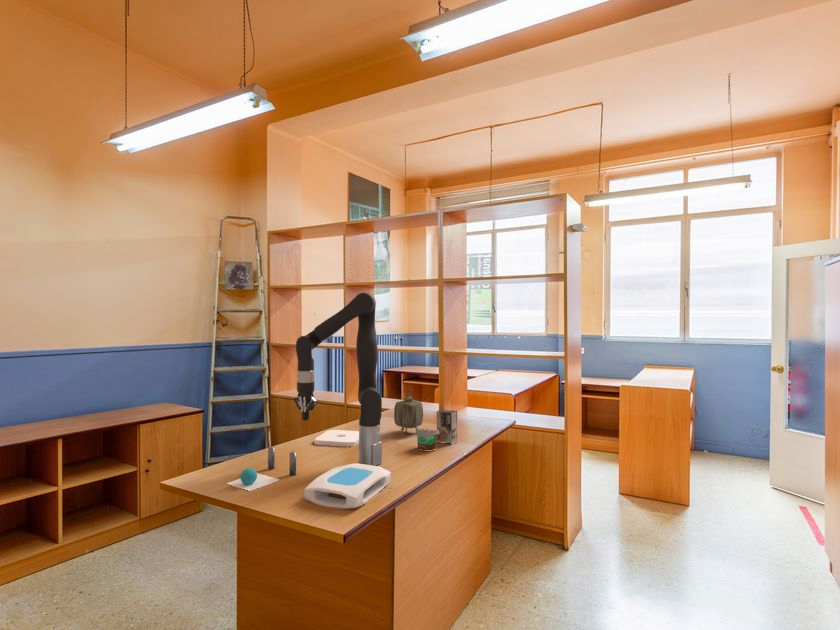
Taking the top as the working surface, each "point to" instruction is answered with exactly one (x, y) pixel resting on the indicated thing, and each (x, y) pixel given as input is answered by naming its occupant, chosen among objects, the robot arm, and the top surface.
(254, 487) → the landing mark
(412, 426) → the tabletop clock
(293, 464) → the post
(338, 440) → the computer
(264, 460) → the top surface
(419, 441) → the food container
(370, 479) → the step platform
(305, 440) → the top surface
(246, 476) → the ball
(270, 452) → the post
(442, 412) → the coffee box
